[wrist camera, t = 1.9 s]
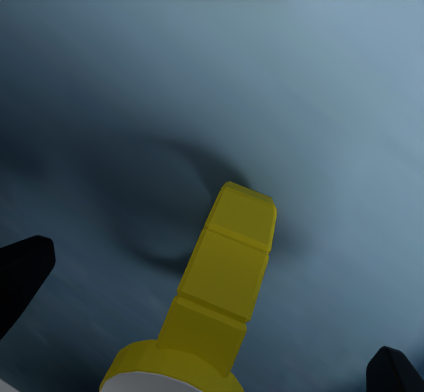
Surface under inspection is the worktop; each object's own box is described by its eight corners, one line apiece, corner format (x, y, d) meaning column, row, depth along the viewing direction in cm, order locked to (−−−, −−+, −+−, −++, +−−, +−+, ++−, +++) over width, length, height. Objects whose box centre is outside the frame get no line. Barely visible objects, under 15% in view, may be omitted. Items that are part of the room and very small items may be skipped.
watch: (216, 144, 9) (123, 268, 4) (303, 178, 9) (320, 351, 4) (170, 282, 12) (80, 458, 7) (235, 309, 12) (193, 511, 7)
